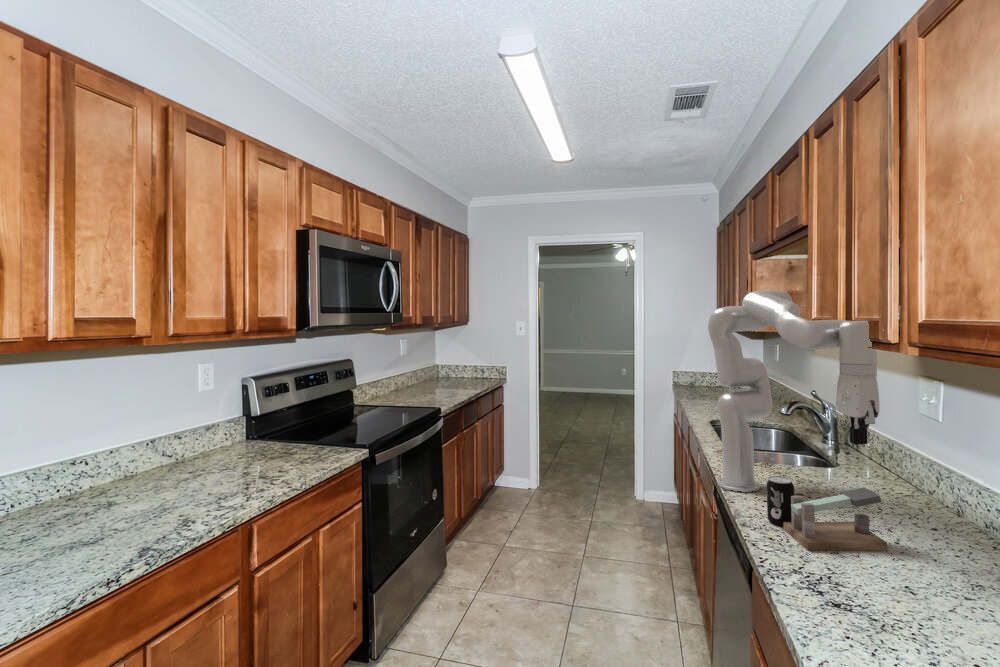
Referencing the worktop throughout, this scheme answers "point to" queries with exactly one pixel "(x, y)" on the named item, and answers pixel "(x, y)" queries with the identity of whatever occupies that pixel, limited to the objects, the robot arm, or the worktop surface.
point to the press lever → (841, 500)
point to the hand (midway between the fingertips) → (858, 443)
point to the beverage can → (779, 499)
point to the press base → (831, 532)
